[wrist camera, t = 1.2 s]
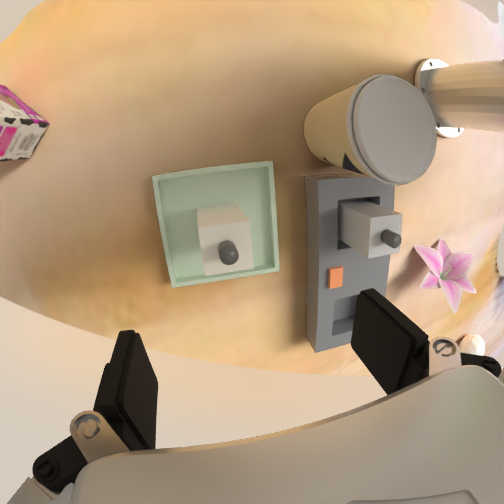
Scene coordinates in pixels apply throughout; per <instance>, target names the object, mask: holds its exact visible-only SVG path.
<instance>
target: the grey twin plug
mask: <svg viewBox="0 0 504 504" xmlns="http://www.w3.org/2000/svg"><path fill="white" fill-rule="evenodd" d="M401 227H402V214H401V213H398V212H396V211H393V210H390V209H388V208H385V207H382V206H380V205H377V204H374V203H371V202H369V201H366V200H363V199H350V200H338V239H340V240H341V241H343V242H344V243H346V244H347V245H349V246H350V247H352V248H353V249H355V250H356V251H358V252H359V253H361V254H362V255H364V256H365V257H367V258H368V259H369V258H374V257H379V256H384V255H389V254H394V253H398V252H399V248H400V244H401Z"/></svg>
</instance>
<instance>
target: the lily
mask: <svg viewBox="0 0 504 504" xmlns="http://www.w3.org/2000/svg"><path fill="white" fill-rule="evenodd" d="M414 248H415V250H416V251H417V252H418V254H419V255H420V256H421V257H422V259H423V260H424V261H425V263H426V264H427V265H428V267H429V268H430V271H429V272H428V273H427V275H426V276H425V278H424V280H423V281H422V283H421V285H420V288H421V289H435V288H442V290H443V292H444V293H445V295H446V298H447V300H448V302H449V304H450V306H451V309H452V310H453V312H454V313H456V312H457V310H458V308H459V305H460V301H461V296H462V290H463V291H467V292H471V293H476V290H475V287H474V286H473V284H472V283H471V281H470V280H469V278H468V277H467V276H466V273H467V272H468V271H469V269H470V267H471V265H472V262H473V259H474V255H473V254H472V253H470V252H455V253H453V254H452V253H451V251H450V249H449V247H448V245H447V244H446V242H445V241H444V240H443V239H442V238H440V240H439V244H438V250H435V249H434V248H431V247H427V246H423V245H415V246H414Z"/></svg>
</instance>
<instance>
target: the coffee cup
mask: <svg viewBox="0 0 504 504" xmlns="http://www.w3.org/2000/svg"><path fill="white" fill-rule="evenodd" d="M304 137H305V141H306V143H307V146H308V147H309V149H310V151H311V152H312V153H313V154H314V155H315V156H316V157H317V158H318V159H320V160H321V161H323V162H325V163H328V164H331V165H334V166H337V167H340V168H344V169H347V170H350V171H353V172H356V173H360V174H363V175H366V176H369V177H372V178H375V179H377V180H379V181H381V182H383V183H386V184H390V185H404V184H407V183H410V182H412V181H414V180H416V179H417V178H419V177H420V176H421V175H423V174H424V173H425V172H426V170H427V169H428V167H429V166H430V164H431V162H432V160H433V157H434V154H435V149H436V142H437V133H436V124H435V120H434V116H433V113H432V111H431V108H430V106H429V104H428V102H427V101H426V99H425V98H424V96H423V95H422V94H421V93H420V91H419V90H418V89H417V88H416V87H415V86H413V85H412V84H411V83H409V82H408V81H406V80H404V79H401V78H399V77H396V76H393V75H388V74H379V75H374V76H371V77H369V78H367V79H365V80H364V81H362V82H360V83H358V84H356V85H354V86H351V87H349V88H347V89H345V90H343V91H341V92H338V93H336V94H334V95H332V96H330V97H328V98H326V99H324V100H322V101H321V102H319V103H317V104H316V105H314V106H313V107H312V108H311V109H310V111H309V112H308V114H307V116H306V118H305V121H304Z"/></svg>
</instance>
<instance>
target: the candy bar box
mask: <svg viewBox="0 0 504 504" xmlns="http://www.w3.org/2000/svg"><path fill="white" fill-rule="evenodd" d="M48 126H49V123H48V122H47V121H46V120H45V119H43V118H42V117H41V116H40V115H38V114H37V113H36V112H35V111H33V110H32V109H31V108H30V107H29V106H27V105H26V104H25V103H24V102H23V101H22V100H20V99H19V98H18V97H17V96H16V95H15V94H13V93H12V92H11V91H10V90H9V89H8V88H7V87H5V86H3V85H0V161H8V160H17V159H27V158H31V156H32V154H33V152H34V150H35V148H36V146H37V145H38V143H39V141H40V140H41V138H42V136H43V135H44V133H45V132H46V130H47V128H48Z"/></svg>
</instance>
